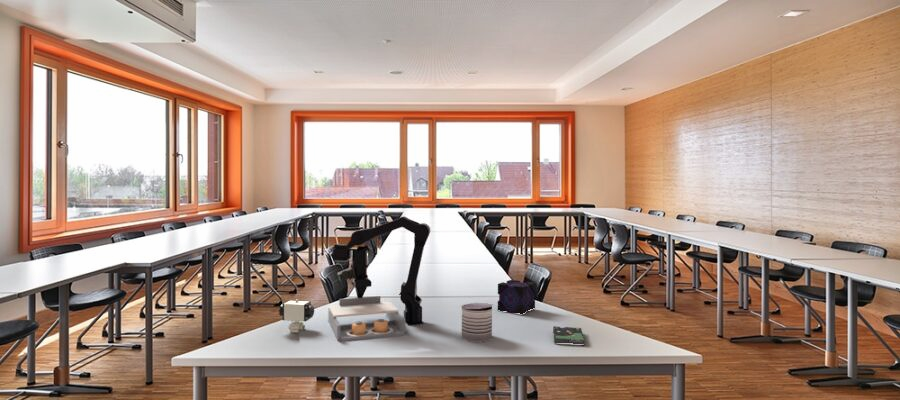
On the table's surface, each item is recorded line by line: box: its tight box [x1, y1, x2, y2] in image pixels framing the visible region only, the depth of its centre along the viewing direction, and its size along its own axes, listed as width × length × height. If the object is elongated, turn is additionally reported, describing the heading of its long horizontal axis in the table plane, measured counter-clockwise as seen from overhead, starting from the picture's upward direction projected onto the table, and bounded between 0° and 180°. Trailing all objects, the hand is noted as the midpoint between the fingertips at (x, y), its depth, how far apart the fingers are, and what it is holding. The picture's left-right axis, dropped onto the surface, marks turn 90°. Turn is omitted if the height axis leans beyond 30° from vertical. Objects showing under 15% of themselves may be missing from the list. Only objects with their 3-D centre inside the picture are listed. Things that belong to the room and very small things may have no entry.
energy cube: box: [497, 279, 536, 314], centre depth 217 cm, size 12×12×12 cm
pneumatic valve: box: [278, 298, 315, 334], centre depth 183 cm, size 6×12×12 cm, turn 83°
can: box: [460, 302, 494, 343], centre depth 178 cm, size 11×11×12 cm
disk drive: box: [552, 325, 585, 345], centre depth 177 cm, size 10×3×15 cm
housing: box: [327, 307, 406, 342], centre depth 185 cm, size 24×27×6 cm
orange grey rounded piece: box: [374, 318, 389, 333], centre depth 179 cm, size 5×5×5 cm
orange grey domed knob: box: [351, 320, 367, 335], centre depth 176 cm, size 5×5×5 cm
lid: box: [328, 295, 399, 318], centre depth 190 cm, size 24×14×3 cm, turn 110°
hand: (359, 300), depth 197 cm, fingers closed
